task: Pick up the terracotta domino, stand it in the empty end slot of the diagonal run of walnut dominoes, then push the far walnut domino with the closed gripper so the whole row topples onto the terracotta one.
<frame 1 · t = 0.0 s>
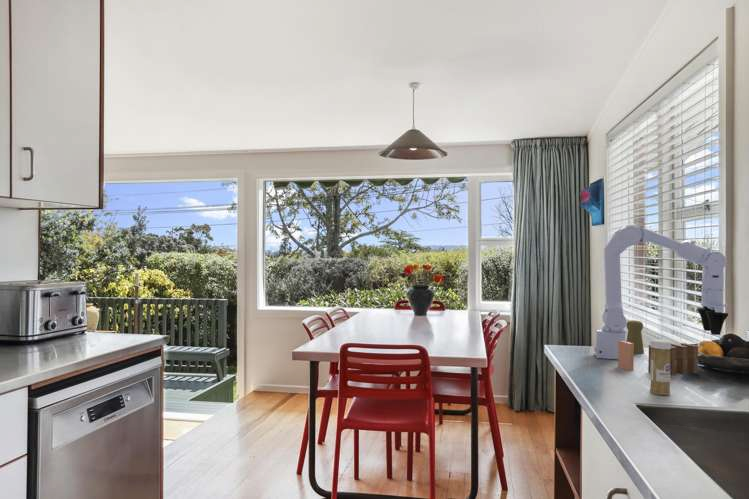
hand: (711, 332, 158), 10 cm above the countertop, tool pointing down, fingers open, 7 cm apart
toothpick jar: (659, 394, 127), on the countertop
cork: (634, 352, 176), on the countertop
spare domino: (625, 368, 152), on the countertop
domino 1: (689, 371, 150), on the countertop
domino 4: (656, 373, 146), on the countertop
domino 3: (667, 373, 148), on the countertop
domino 2: (678, 372, 149), on the countertop
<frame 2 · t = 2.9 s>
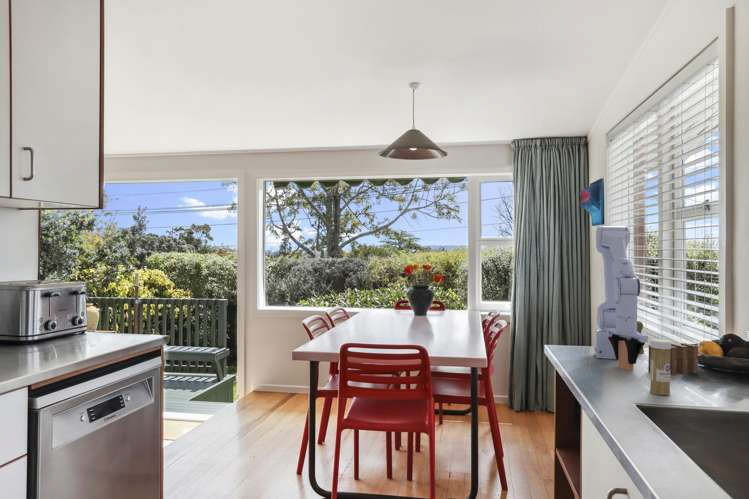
hand: (625, 361, 152), 2 cm above the countertop, tool pointing down, fingers closed on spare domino, 4 cm apart
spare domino: (625, 368, 152), on the countertop, touching gripper
everything else where it was.
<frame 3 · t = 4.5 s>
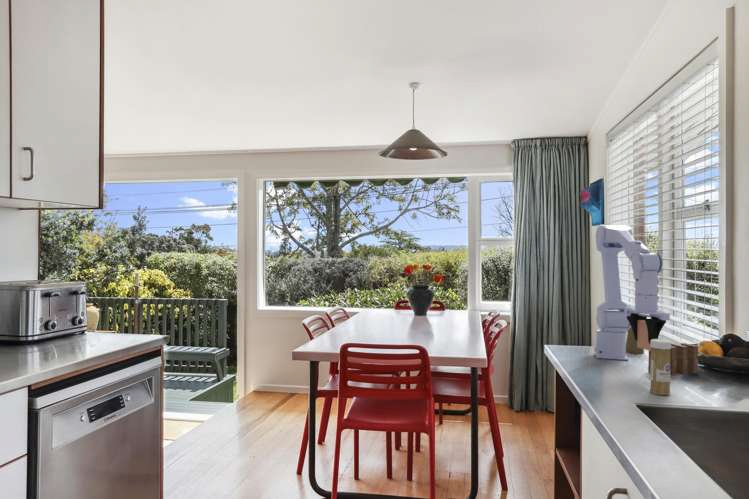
hand: (645, 341, 145), 9 cm above the countertop, tool pointing down, fingers closed on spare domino, 4 cm apart
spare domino: (645, 348, 145), point 7 cm above the countertop, touching gripper
everything else where it was.
when the fingers open (3 cm above the countertop, at t = 6.2 s): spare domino stays where it is, on the countertop.
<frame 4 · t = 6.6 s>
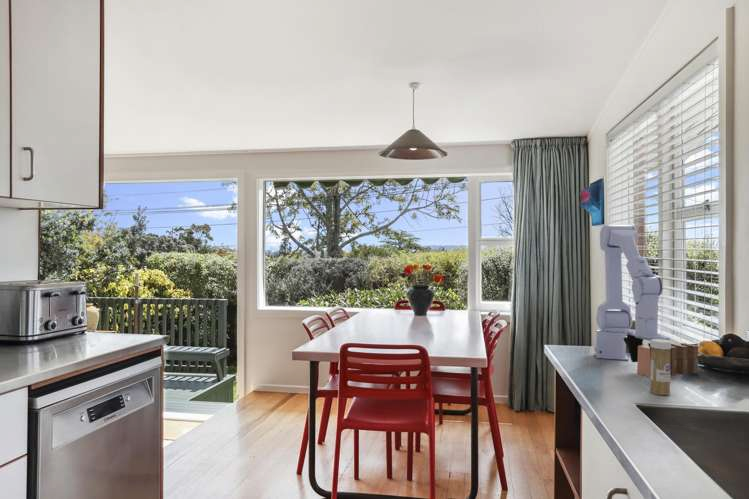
hand: (645, 364, 145), 3 cm above the countertop, tool pointing down, fingers open, 7 cm apart
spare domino: (645, 374, 145), on the countertop
everything else where it was.
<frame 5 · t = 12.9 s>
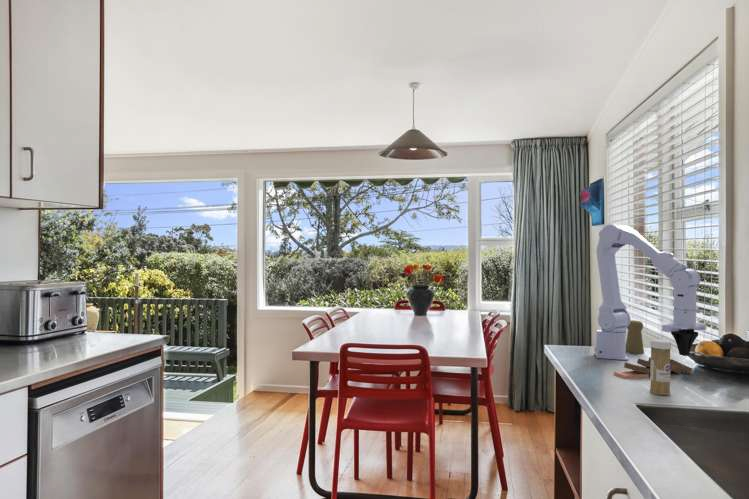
hand: (684, 355, 149), 5 cm above the countertop, tool pointing down, fingers closed
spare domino: (642, 374, 145), on the countertop, tilted 90°
domino 1: (684, 369, 149), point 1 cm above the countertop, tilted 68°, touching domino 2
domino 4: (652, 371, 146), point 1 cm above the countertop, tilted 76°, touching domino 3
domino 3: (663, 370, 147), point 1 cm above the countertop, tilted 69°, touching domino 2, domino 4
domino 2: (674, 370, 148), point 1 cm above the countertop, tilted 68°, touching domino 1, domino 3
everything else where it was.
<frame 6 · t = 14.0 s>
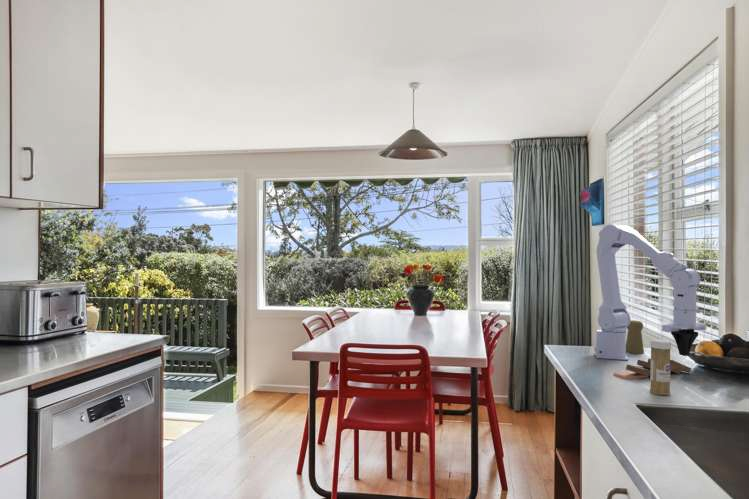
hand: (684, 355, 149), 5 cm above the countertop, tool pointing down, fingers closed
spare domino: (642, 375, 145), on the countertop, tilted 90°, touching domino 4
domino 4: (650, 372, 145), point 1 cm above the countertop, tilted 78°, touching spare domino
domino 3: (662, 371, 147), point 1 cm above the countertop, tilted 70°, touching domino 2
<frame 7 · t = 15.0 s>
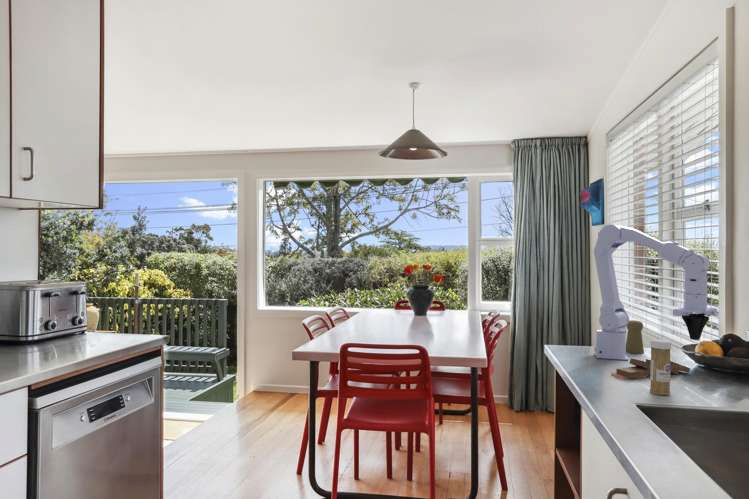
hand: (694, 339, 150), 9 cm above the countertop, tool pointing down, fingers closed
domino 4: (643, 370, 144), point 1 cm above the countertop, tilted 90°, touching domino 3, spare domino
domino 3: (657, 371, 146), point 1 cm above the countertop, tilted 67°, touching domino 4
domino 2: (672, 370, 148), point 1 cm above the countertop, tilted 71°, touching domino 1
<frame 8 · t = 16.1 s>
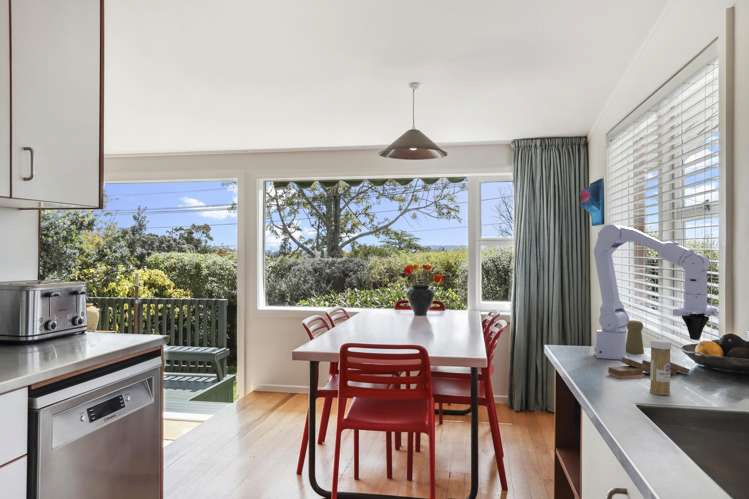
hand: (694, 339, 150), 9 cm above the countertop, tool pointing down, fingers closed
domino 4: (636, 370, 145), point 1 cm above the countertop, tilted 89°, touching domino 3, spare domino
domino 3: (651, 370, 146), point 1 cm above the countertop, tilted 70°, touching domino 2, domino 4
domino 2: (670, 370, 147), point 1 cm above the countertop, tilted 73°, touching domino 1, domino 3
at the end: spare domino tilted 90°; domino 3 tilted 71°; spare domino inside the target area (1.7 cm from its centre), on the countertop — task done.
